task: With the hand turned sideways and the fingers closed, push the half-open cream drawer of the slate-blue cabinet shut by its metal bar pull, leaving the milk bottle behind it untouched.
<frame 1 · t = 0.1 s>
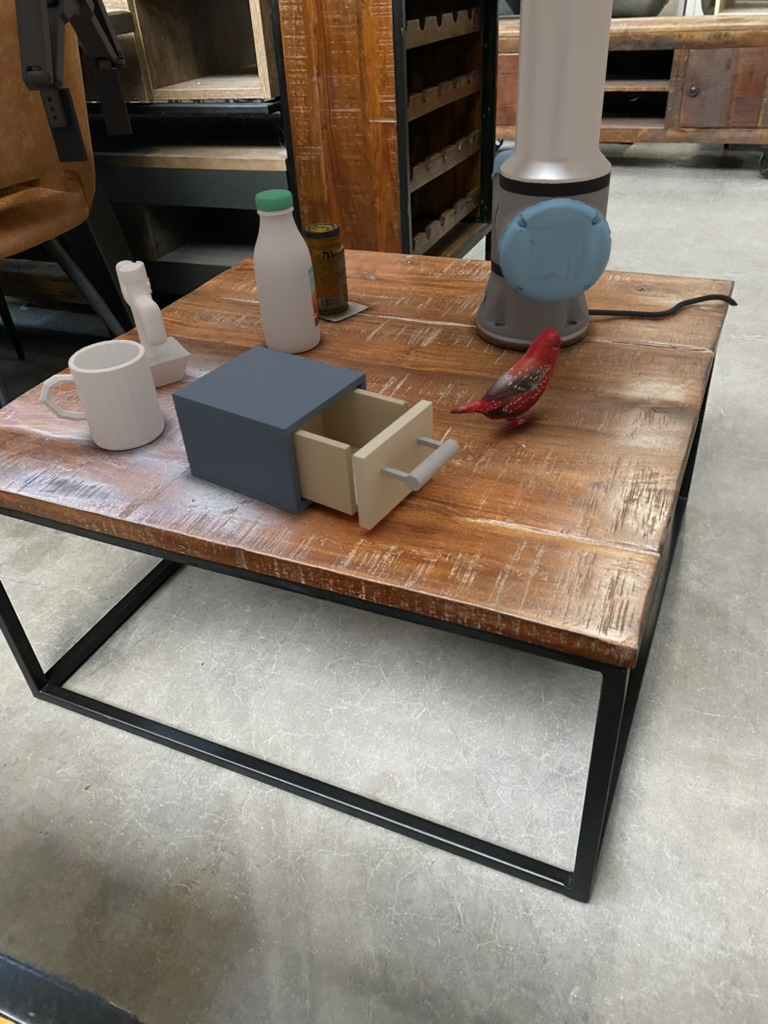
hand: (98, 147, 84), 28 cm above the table, tool pointing down, fingers open, 13 cm apart
cabinet: (282, 464, 82), on the table
figurine: (161, 379, 101), on the table
decorative bird figurine: (506, 434, 85), on the table
drawer: (361, 452, 74), point 5 cm above the table, slide at 7.0 cm
condiment: (332, 310, 116), on the table
milk bottle: (293, 344, 107), on the table
mug: (113, 439, 89), on the table
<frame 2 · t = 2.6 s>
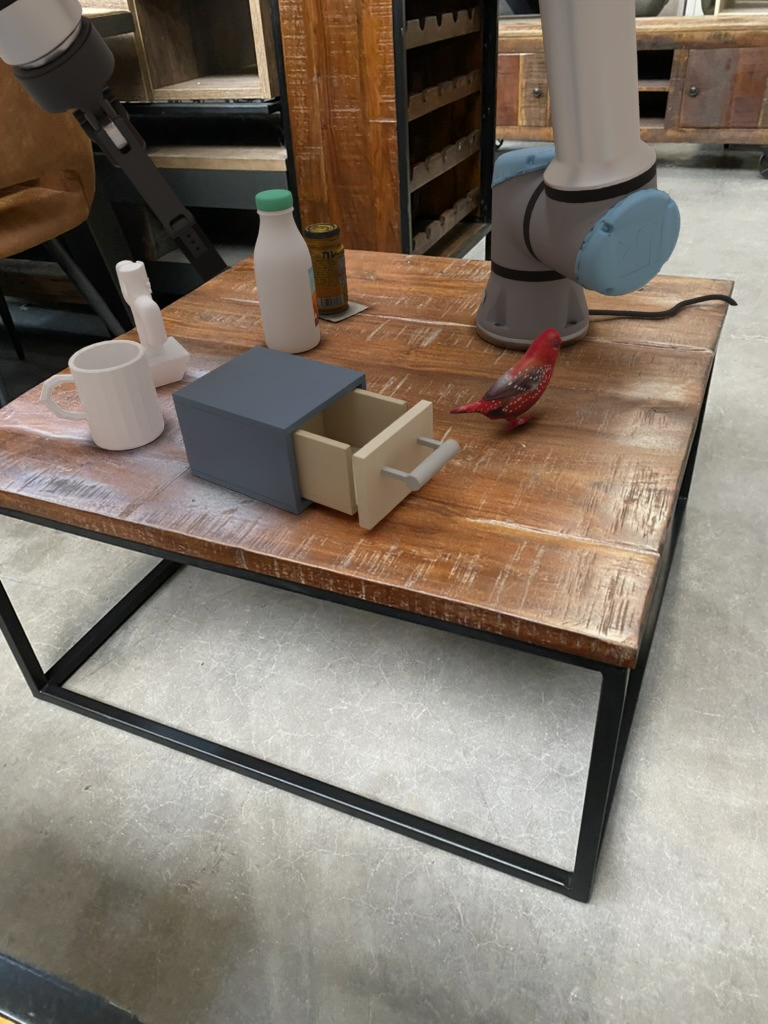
hand: (191, 239, 78), 21 cm above the table, tool tilted 30°, fingers open, 13 cm apart
nothing on the table moved.
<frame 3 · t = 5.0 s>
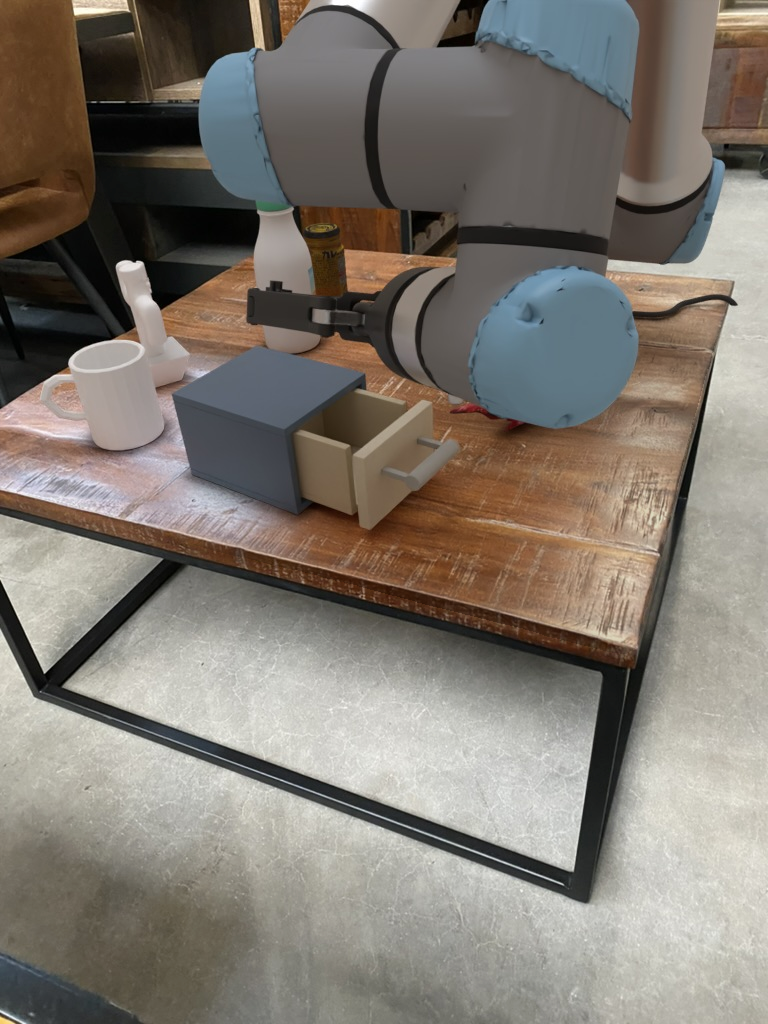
hand: (345, 309, 68), 18 cm above the table, tool tilted 75°, fingers open, 13 cm apart
nothing on the table moved.
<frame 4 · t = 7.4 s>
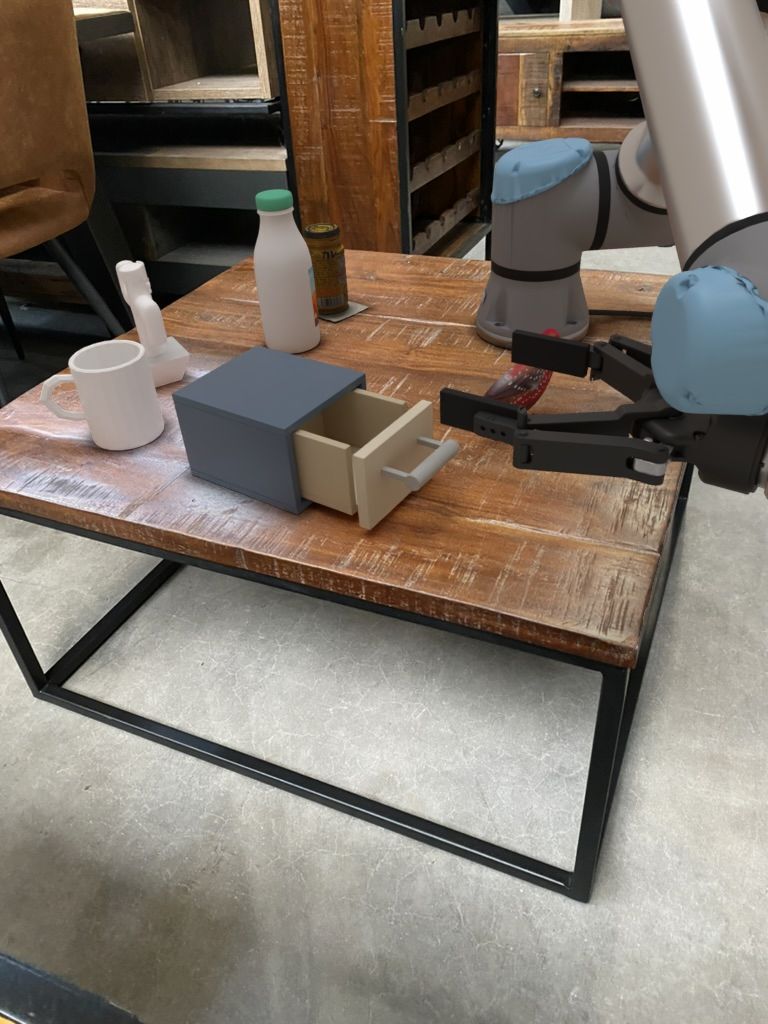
hand: (480, 373, 61), 16 cm above the table, tool horizontal, fingers open, 11 cm apart
nothing on the table moved.
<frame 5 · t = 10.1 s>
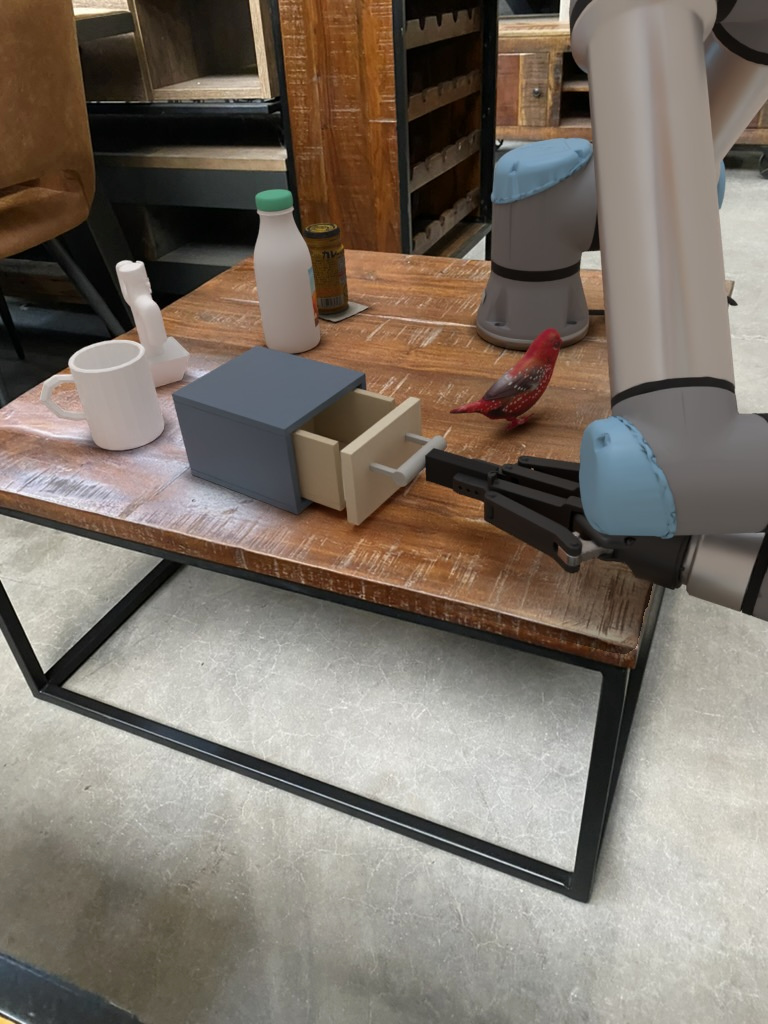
hand: (430, 464, 69), 6 cm above the table, tool horizontal, fingers closed
drawer: (350, 448, 74), point 5 cm above the table, slide at 5.6 cm, touching gripper
everything else where it was.
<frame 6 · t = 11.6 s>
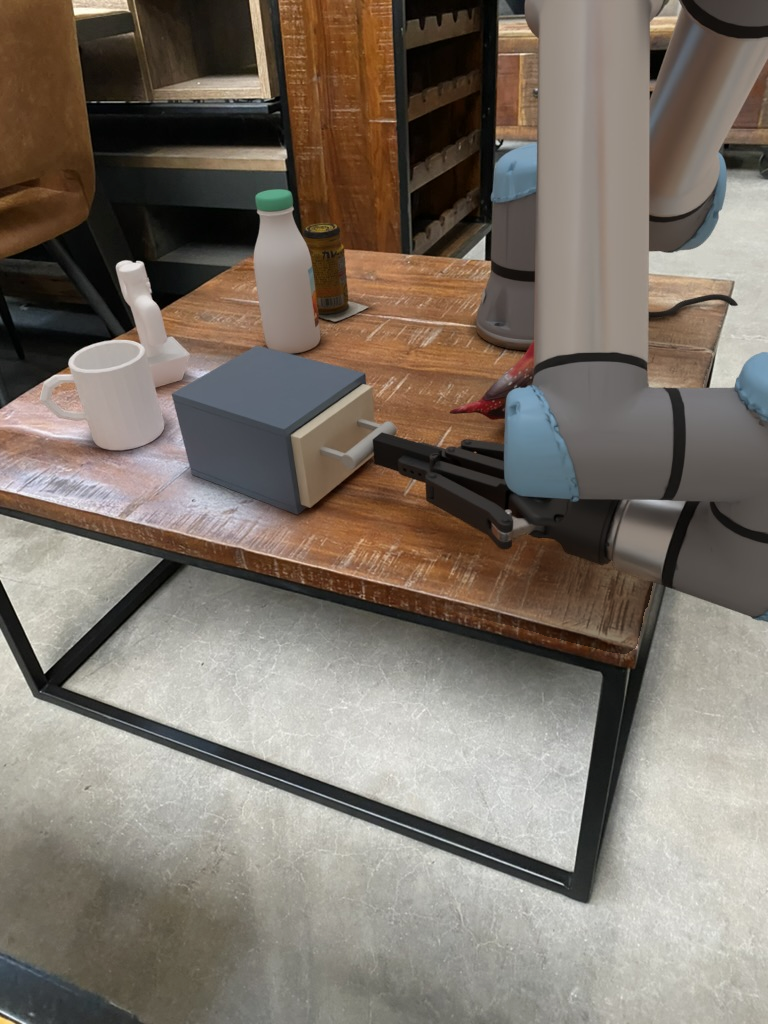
hand: (378, 448, 72), 6 cm above the table, tool horizontal, fingers closed
drawer: (304, 434, 77), point 5 cm above the table, slide at 0.0 cm, touching cabinet, gripper
everything else where it was.
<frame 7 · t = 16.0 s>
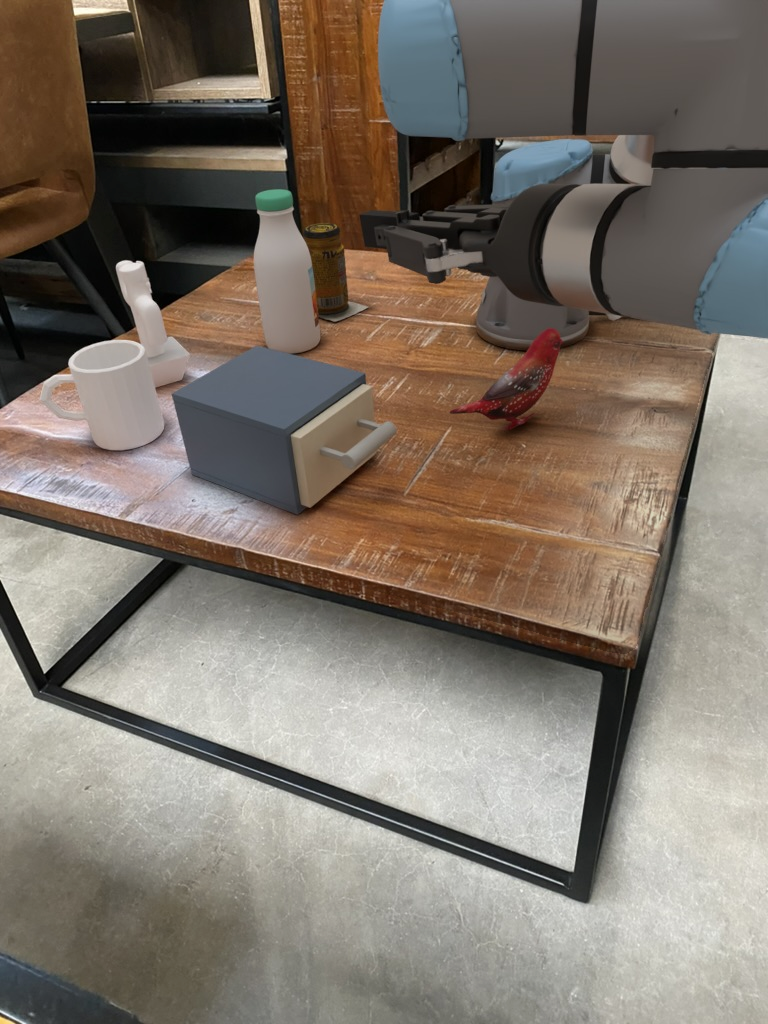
hand: (369, 228, 67), 24 cm above the table, tool horizontal, fingers closed
drawer: (304, 434, 77), point 5 cm above the table, slide at 0.0 cm, touching cabinet
everything else where it was.
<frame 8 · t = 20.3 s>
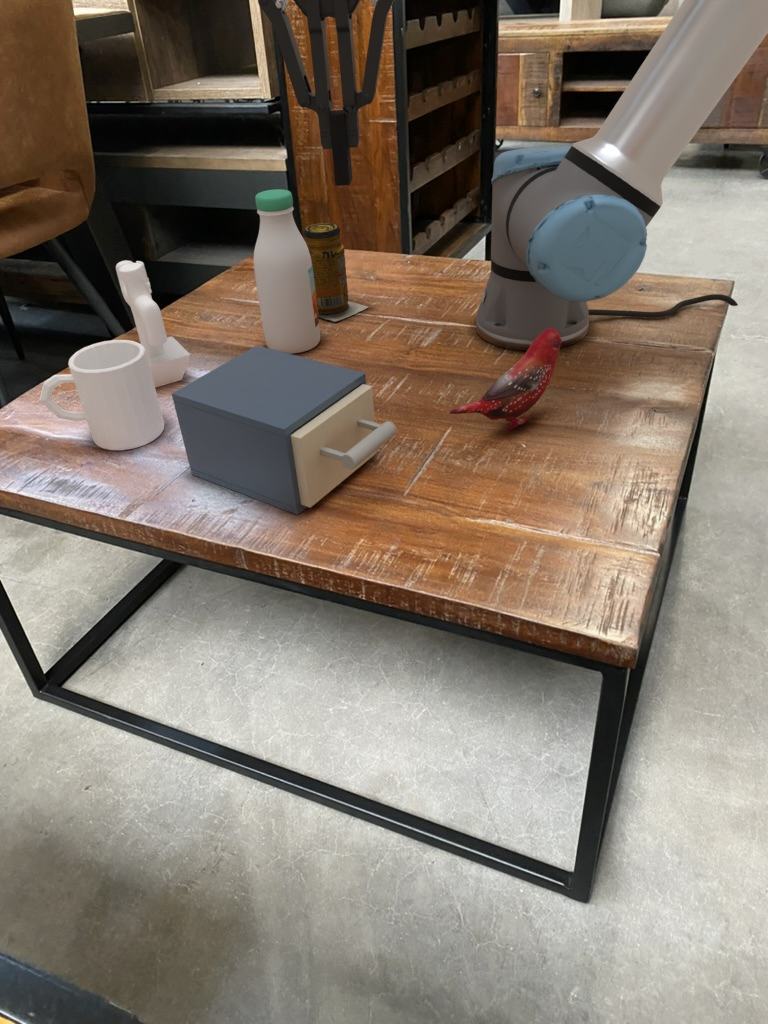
hand: (343, 181, 80), 24 cm above the table, tool pointing down, fingers closed
nothing on the table moved.
at the end: drawer slide at 0.0 cm; milk bottle moved 0.2 cm from its start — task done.
